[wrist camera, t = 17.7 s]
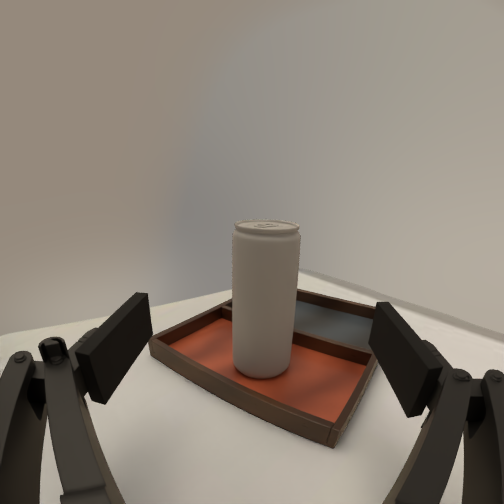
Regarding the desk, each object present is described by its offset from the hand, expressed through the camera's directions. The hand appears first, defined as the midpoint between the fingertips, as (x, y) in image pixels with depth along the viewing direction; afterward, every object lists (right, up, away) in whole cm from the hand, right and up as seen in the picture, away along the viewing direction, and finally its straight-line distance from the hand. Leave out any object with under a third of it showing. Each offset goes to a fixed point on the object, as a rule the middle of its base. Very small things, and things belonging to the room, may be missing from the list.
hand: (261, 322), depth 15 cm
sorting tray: (+3, -5, +12) cm, 13 cm away
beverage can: (0, -6, +8) cm, 10 cm away
